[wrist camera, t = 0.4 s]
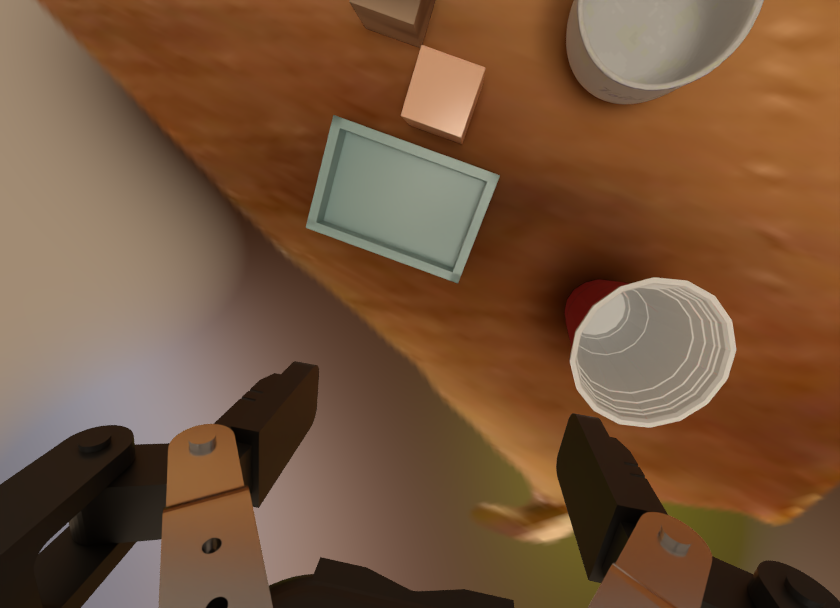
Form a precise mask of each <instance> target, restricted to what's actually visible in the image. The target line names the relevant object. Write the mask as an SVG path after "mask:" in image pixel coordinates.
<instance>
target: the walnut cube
mask: <svg viewBox="0 0 840 608" xmlns="http://www.w3.org/2000/svg"><path fill="white" fill-rule="evenodd" d="M349 2H350V4H351V5H352V7H353V8H354V10H355V12H356V13H357V15H358V16H359V18H360V20H361V21H362V23H363V24H364V26H365V28H366V29H369V30H372V31H374V32H377V33H380V34H383V35H386V36H388V37H391V38H394V39H397V40H399V41H402V42H405V43H408V44H411V45H413V46H416V47H419V48H421V45H422V44H423V40H424V37H425V34H426V30H427V27H428V23H429V20H430V17H431V13H432V10H433V7H434V3H435V0H350V1H349Z"/></svg>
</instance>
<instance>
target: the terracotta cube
mask: <svg viewBox="0 0 840 608" xmlns="http://www.w3.org/2000/svg"><path fill="white" fill-rule="evenodd" d="M484 75H485V67H482V66H479V65H477V64H474V63H471V62H468V61H466V60H463V59H460V58H457V57H454V56H452V55H449V54H446V53H443V52H440V51H438V50H435V49H432V48H429V47H427V46H424V45H421V49H420V52H419V56H418V59H417V62H416V66H415V69H414V72H413V76H412V79H411V82H410V86H409V89H408V93H407V96H406V99H405V103H404V106H403V109H402V113H401V117H402V118H403V119H404V120H405V121H406V122H407V123H408V124H409V125H410V126H413V127H415V128H418V129H421V130H424V131H426V132H429V133H432V134H435V135H437V136H440V137H443V138H446V139H448V140H451V141H454V142H457V143H459V144H462V143H463V140H464V138H465V135H466V132H467V129H468V126H469V123H470V121H471V118H472V115H473V112H474V109H475V106H476V103H477V101H478V98H479V95H480V92H481V89H482V86H483V82H484Z"/></svg>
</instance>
